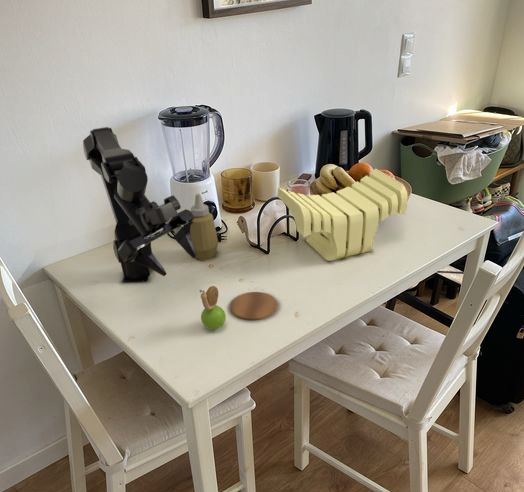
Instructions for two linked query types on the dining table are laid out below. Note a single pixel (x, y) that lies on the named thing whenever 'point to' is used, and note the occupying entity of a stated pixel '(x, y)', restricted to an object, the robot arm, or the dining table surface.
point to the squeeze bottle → (203, 231)
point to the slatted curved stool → (346, 214)
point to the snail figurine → (212, 309)
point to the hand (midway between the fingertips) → (180, 265)
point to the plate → (253, 306)
